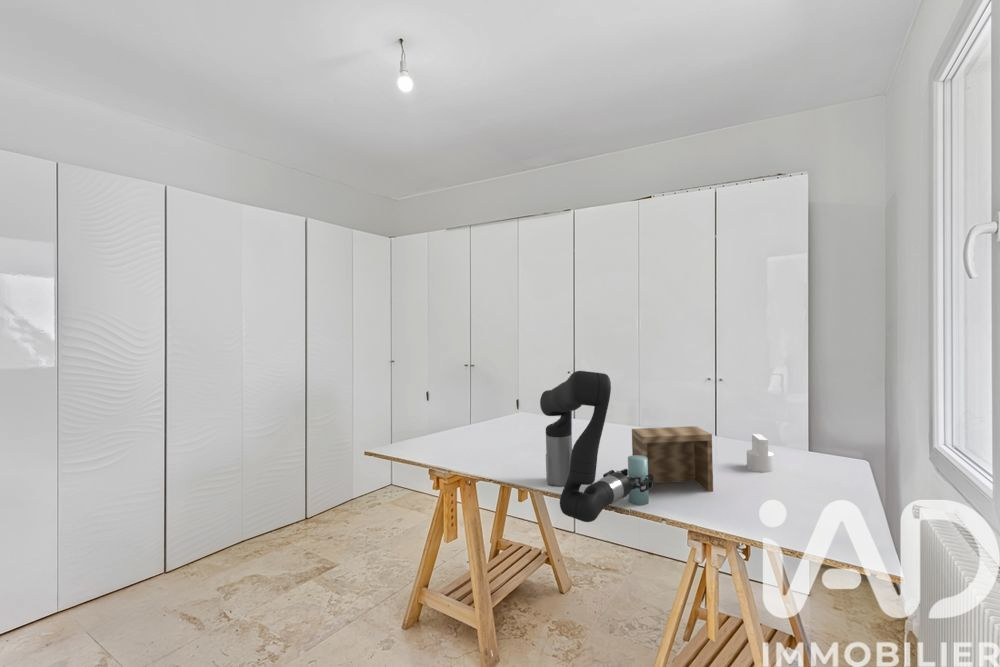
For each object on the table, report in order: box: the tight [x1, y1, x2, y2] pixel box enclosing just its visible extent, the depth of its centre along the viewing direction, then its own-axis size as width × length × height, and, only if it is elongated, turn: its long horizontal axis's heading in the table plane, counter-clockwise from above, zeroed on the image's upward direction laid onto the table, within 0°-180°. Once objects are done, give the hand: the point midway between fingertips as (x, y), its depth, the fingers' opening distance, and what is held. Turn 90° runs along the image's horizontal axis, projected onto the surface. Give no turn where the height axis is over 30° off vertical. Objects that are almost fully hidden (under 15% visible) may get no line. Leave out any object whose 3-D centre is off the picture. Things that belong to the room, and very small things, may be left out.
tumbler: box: [627, 455, 650, 506], centre depth 153 cm, size 6×6×14 cm
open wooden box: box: [631, 425, 714, 493], centre depth 165 cm, size 23×12×19 cm, turn 91°
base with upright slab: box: [746, 433, 775, 474], centre depth 181 cm, size 9×9×12 cm
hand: (638, 474), depth 153 cm, fingers open, 8 cm apart
